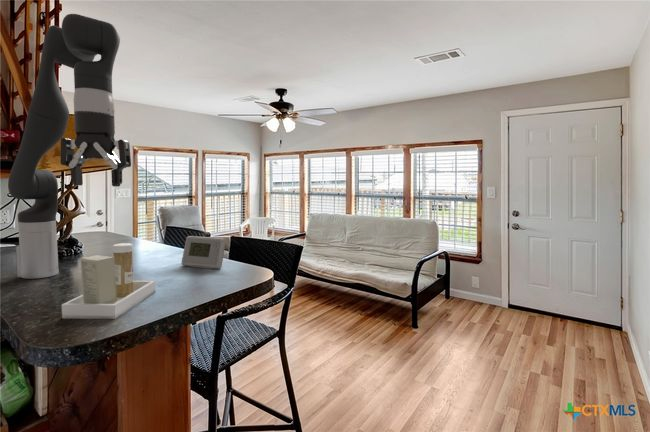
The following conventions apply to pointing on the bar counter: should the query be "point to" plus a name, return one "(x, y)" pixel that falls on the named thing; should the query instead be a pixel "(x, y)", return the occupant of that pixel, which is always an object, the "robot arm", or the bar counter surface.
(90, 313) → the tray
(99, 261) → the skincare box
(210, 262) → the digital clock
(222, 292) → the bar counter surface
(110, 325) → the bar counter surface
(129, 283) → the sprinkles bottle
